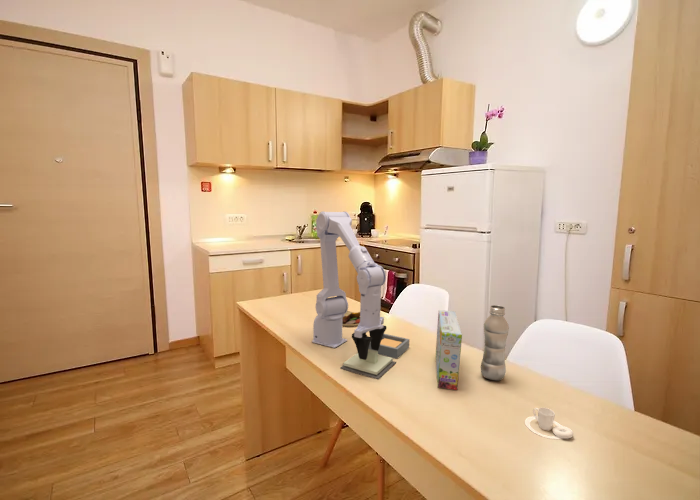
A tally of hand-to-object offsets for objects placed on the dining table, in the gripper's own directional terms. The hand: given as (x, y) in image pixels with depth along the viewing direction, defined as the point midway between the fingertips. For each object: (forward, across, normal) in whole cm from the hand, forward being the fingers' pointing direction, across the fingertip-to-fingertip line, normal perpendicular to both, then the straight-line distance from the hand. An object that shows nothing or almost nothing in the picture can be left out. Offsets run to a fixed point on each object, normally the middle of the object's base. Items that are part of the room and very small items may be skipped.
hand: (369, 354), depth 104 cm
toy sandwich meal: (+4, +30, +26) cm, 40 cm away
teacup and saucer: (+4, -8, -46) cm, 47 cm away
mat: (+4, 0, 0) cm, 4 cm away
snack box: (+4, +9, -20) cm, 22 cm away
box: (+4, +14, 0) cm, 14 cm away
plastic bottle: (+4, +12, -32) cm, 34 cm away
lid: (+3, 0, 0) cm, 3 cm away
